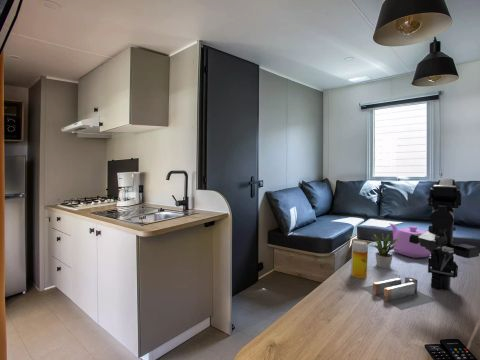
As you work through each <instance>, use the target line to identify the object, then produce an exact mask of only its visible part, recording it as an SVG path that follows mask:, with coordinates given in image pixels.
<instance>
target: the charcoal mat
mask: <svg viewBox="0 0 480 360" xmlns="http://www.w3.org/2000/svg"><path fill="white" fill-rule="evenodd" d="M360 289H361V290H363V291H365V292H367V293H369V294H371V295H373V284H371V285H368V286H363V287H360ZM373 296H374V297H377V298H378V299H380V300H382V301H384V302H385V303H388V304H389V305H391V306H393V307H396V308H397V309H399V310H401V311H404V310H406V309H411V308H413V307H417V306H421V305H422V306H423V305H425V304H429V303H432V302H437V301H438V299H436V298H434V297H431V296H430V295H428V294H426V293H422V292H420V291H418V290H417V292H414V294H413V295H409V296H406V297H402V298H398V299H394V300H391V301H385V300H384V294H380V295H376V296H375V295H373Z"/></svg>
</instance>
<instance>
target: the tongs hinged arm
mask: <svg viewBox="0 0 480 360" xmlns="http://www.w3.org/2000/svg"><path fill="white" fill-rule="evenodd" d="M418 282H419V281H418V279H416V278H415V277H410V276H408V277H407V276H406V277H404V283H401V285H397V286H392V287H387V288H384V300H385V301H384V300H383V301H384V302H386V301H391V300H394V299H398V298H402V297H406V296H409V295H413V294H414V292H417V291H418Z"/></svg>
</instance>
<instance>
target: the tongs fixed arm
mask: <svg viewBox="0 0 480 360" xmlns="http://www.w3.org/2000/svg"><path fill="white" fill-rule="evenodd" d="M402 281H403V280H402V278H400V277H397V278H396V277H395V278H390V279H386V280H382V281H381V280H380V281H376V282H373V283H372V285H373V296H374V295H375V296H374V297H376V295H380V294H384V288H387V287H392V286H397V285H401V284H402Z"/></svg>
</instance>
